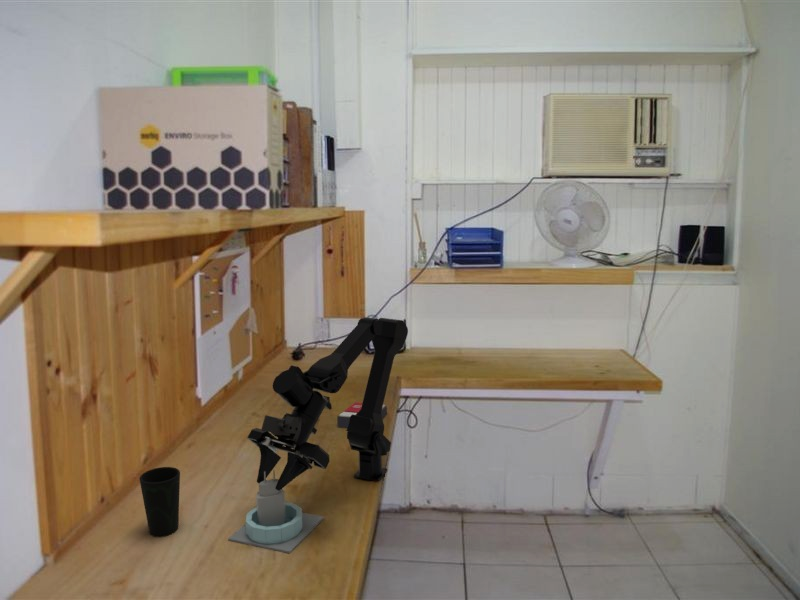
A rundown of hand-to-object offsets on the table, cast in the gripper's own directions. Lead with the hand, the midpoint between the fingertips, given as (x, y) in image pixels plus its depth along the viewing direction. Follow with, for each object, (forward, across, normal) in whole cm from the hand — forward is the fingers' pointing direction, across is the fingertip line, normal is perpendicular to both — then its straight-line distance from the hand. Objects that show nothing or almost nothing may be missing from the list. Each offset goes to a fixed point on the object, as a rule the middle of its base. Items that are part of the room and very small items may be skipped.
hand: (267, 486), depth 123 cm
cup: (+15, -20, 0) cm, 25 cm away
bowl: (+6, 0, +8) cm, 10 cm away
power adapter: (+6, -1, +8) cm, 10 cm away
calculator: (-36, -25, +52) cm, 68 cm away
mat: (+6, 0, +9) cm, 11 cm away
